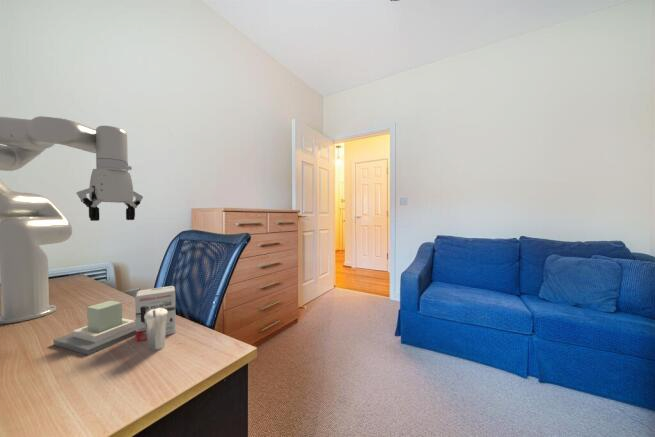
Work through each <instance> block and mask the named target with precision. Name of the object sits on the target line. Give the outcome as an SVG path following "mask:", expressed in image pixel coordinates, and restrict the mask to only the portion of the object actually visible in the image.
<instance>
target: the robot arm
mask: <svg viewBox="0 0 655 437" xmlns="http://www.w3.org/2000/svg"><path fill="white" fill-rule="evenodd" d="M56 144H57V145H61V146H66V147H68V148H69V147H70V148H73V149H78V150H82V151H85V152H88V153H91V154H95V162H96V163H95V164H96V166H95V168H93V169H92V172H91V175H90V178H89V179H90V181H89V186H88V188H85V189H82V190H79V191H77V192H76V196H78V198H79V199H80V202H82V203H83V204H84V205H85V206H86V207H87V208H88V218H89V220H90V221H92V222H96V221H97V222H99V221H100V208H99V207H98V206H99V205H100V204H101V203H123V204H124V205H125V206H126V208H125V219H126V220H127V221H134V220H135V217H136V208H138V206H139V205H140V204H141V202H142V200H143V198H144V197H143V195H142V194H139V193H138V192H136V191H134V185H133V179H132V175H131V173H130V172H129V171H131V170H132V169H133V168H132V166H131V165H129V162H128V160H129V159H128V135H127V133H126V130H123V129H122V128H120V127H117V126H112V125H99V126H97V127H96V128H92V127H90V126H87V125H85V124H81V123H80V122H76V121H73V120H69V119H67V118H61V117H60V118H59V117H52V116H51V117H50V116H43V115H42V116H41V115H40V116H36V117H34V118H32V119H26V118H17V117H10V116H9V117H5V116H0V171H3V172H4V171H5V172H7V171H8V172H9V171H10V172H13V171H17V170H20V169H22V168H23V167H24V166H26V165H27V164H29V163H30V162H32V160H34V159H35V158H37V157H39V155H41V154H42V153H43V152H44V151H45V150H46V149H49V148H52V147H53V146H54V145H56ZM87 195H88V196H87ZM134 198H135V200H134ZM72 233H73V228H72V225H71V223H70V221H69V220H68V218H66V216H65V215H64V214H63V213H62V212H61V211H60V210H59V209H58V208H57V206H56V205H55V204H54V203H53V202H52V201H51V200H50V199H48V198H46V197H45V196H43V195H41V194H37V193H33V192H32V193H30V192H20V191H14V190H12V189H10V187H8V185H6V184H5V183H4V181H3V180H2V179H0V312H1V313H0V325H4V324H13V323H19V322H24V321H29V320H34V319H38V318H40V317H44V316H47V315H49V314H52V313H53V312H55V311H56V310H57V306H56V305H55V304H50V296H49V293H50V290H49V289H50V288H49V260H48V255H47V254H46V253H45V251H44V250H43V249H42V248H41V246H44V245H53V244H59V243H63V242H65V241H67V240H69V239H70V237H72V235H73V234H72Z"/></svg>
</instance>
